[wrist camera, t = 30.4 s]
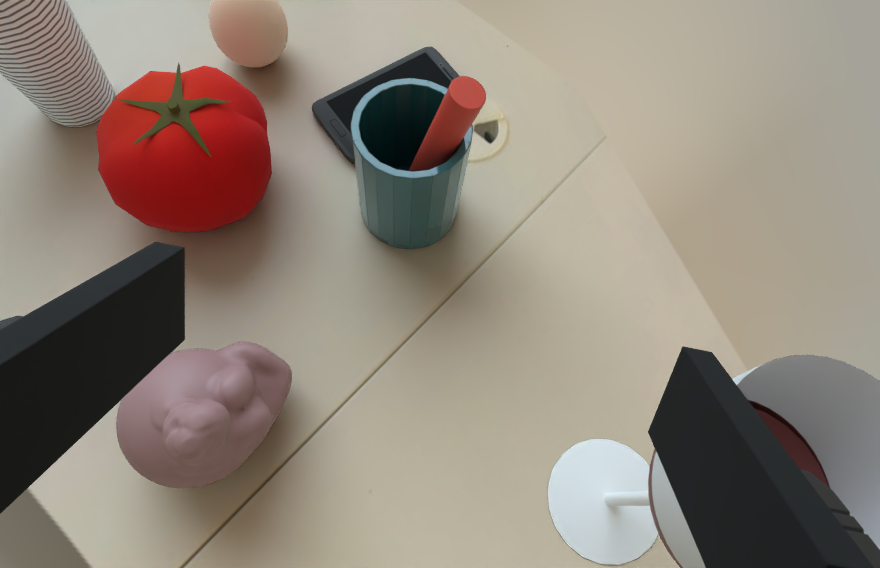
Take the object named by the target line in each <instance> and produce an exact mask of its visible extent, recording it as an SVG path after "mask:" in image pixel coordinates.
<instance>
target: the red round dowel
mask: <svg viewBox="0 0 880 568" xmlns="http://www.w3.org/2000/svg"><path fill="white" fill-rule="evenodd" d="M485 100H486V93H485V90H484V88H483V86H482V85H481V84H480V83H479V82H478V81H476V80H475V79H473V78H471V77H467V76H461V77H457V78H455V79H454V80H453V81H452V82H451V84H450V86H449V88H448V90H447V92H446V94H445V96H444V98H443V100H442V102H441V104H440V107H439V109H438V111H437V113H436V115H435V117H434V119H433V121H432V123H431V125H430V127H429V129H428V131H427V133H426V136H425V138H424V140H423V142H422V144H421V146H420V148H419V150H418V152H417V154H416V156H415V158H414V160H413V163H412V165H411V167H410V169H409V171H412V172H414V171H422V170H430V169H432V168H434V167H437V166H439V165H441V164H444V163H446V162H447V161H448V160H449V159H450V158H451V157H452V156H453V155H454V153H455V151H456V150H457V148H458V146H459V145H460V143H461V141H462V140H463V138H464V136H465V135H466V133H467V131H468V130H469V128H470V126H471V125H472V123H473V121H474V120H475V118H476V116H477V115H478V113H479V111H480V110H481V108H482V106H483V105H484V103H485Z"/></svg>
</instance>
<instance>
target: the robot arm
mask: <svg viewBox="0 0 880 568" xmlns="http://www.w3.org/2000/svg"><path fill="white" fill-rule="evenodd" d="M184 340H185V250H184V247H179V246H174V245H169V244H164V243H159V242H154V243H153V244H151V245H149V246H147V247H146V248H144V249H142V250H140V251H139V252H137V253H135V254H133V255H131V256H130V257H128V258H126V259H124V260H123V261H121V262H119V263H117V264H116V265H114V266H112V267H110V268H108V269H107V270H105V271H103V272H101V273H100V274H98V275H96V276H94V277H93V278H91V279H89V280H87V281H86V282H84V283H82V284H80V285H78V286H77V287H75V288H73V289H71V290H70V291H68V292H66V293H64V294H63V295H61V296H59V297H57V298H55V299H54V300H52V301H50V302H48V303H47V304H45V305H43V306H41V307H40V308H38V309H36V310H34V311H32V312H31V313H29V314H27V315H25V316H24V317H23V316H15V317H12V318H8V319H5V320H2V321H0V513H1V512H3V510H5V509H6V508H7V507H8V506H9V505H10V504H11V503H12V502H13V501H14V500H15V499H16V498H17V497H18V496H20V495H21V494H22V493H23V492H24V491H25V490H26V489H27V488H28V487H29V486H30V485H31V484H32V483H33V482H34V481H35V480H36V479H38V478H39V477H40V476H41V475H42V474H43V473H44V472H45V471H46V470H47V469H48V468H49V467H50V466H51V465H52V464H53V463H55V462H56V461H57V460H58V459H59V458H60V457H61V456H62V455H63V454H64V453H65V452H66V451H67V450H68V449H69V448H70V447H71V446H73V445H74V444H75V443H76V442H77V441H78V440H79V439H80V438H81V437H82V436H83V435H84V434H85V433H86V432H87V431H88V430H89V429H91V428H92V427H93V426H94V425H95V424H96V423H97V422H98V421H99V420H100V419H101V418H102V417H103V416H104V415H105V414H106V413H108V412H109V411H110V410H111V409H112V408H113V407H114V406H115V405H116V404H117V403H118V402H119V401H120V400H121V399H122V398H123V397H124V396H126V395H127V394H128V393H129V392H130V391H131V390H132V389H133V388H134V387H135V386H136V385H137V384H138V383H139V382H140V381H141V380H142V379H144V378H145V377H146V376H147V375H148V374H149V373H150V372H151V371H152V370H153V369H154V368H155V367H156V366H157V365H158V364H159V363H161V362H162V361H163V360H164V359H165V358H166V357H167V356H168V355H169V354H170V353H171V352H172V351H173V350H174V349H175V348H176V347H177V346H179V345H180V344H181V343H182V342H183V341H184ZM648 433H649V435H650V438H651V440H652V442H653V445H654V447H655V449H656V452H657V454H658V456H659V459H660V461H661V464H662V466H663V468H664V471H665V473H666V475H667V478H668V480H669V482H670V485H671V487H672V489H673V492H674V494H675V496H676V499H677V501H678V504H679V506H680V508H681V511H682V513H683V515H684V518H685V520H686V522H687V525H688V527H689V529H690V532H691V534H692V536H693V539H694V541H695V544H696V546H697V548H698V551H699V553H700V555H701V558H702V560H703V562H704V565H705V567H706V568H880V549H879V548H878V547H877V546H876V544H875V543H874V542H873V541H872V539H871V538H870V537H869V535H868V534H864V529H863V528H862V527H861V525H860V524H859V523H858V522H857V520H856V519H855V518H854V517H853V516H850V511H849V510H848V509H847V508H846V506H845V505H844V504H843V503H842V501H841V500H840V499H839V498H838V496H837V495H836V494H835V493H834V491H833V490H831V489H830V488H829V487H828V486H826V485H825V484H824V483H823V482H822V481H820V480H819V479H818V478H817V477H816V476H814V475H813V474H812V473H811V472H810V471H805V470H800V469H799V467H798V466H797V465H796V463H795V462H794V461H793V459H792V458H791V457H790V455H789V454H788V453H787V451H786V450H785V449H784V447H783V446H782V445H781V443H780V442H779V441H778V440H777V438H776V437H775V436H774V434H773V433H772V432H771V430H770V429H769V428H768V426H767V425H766V424H765V422H764V421H763V420H762V418H761V417H760V416H759V414H758V413H757V412H756V410H755V409H754V408H753V406H752V405H751V404H750V402H749V401H748V400H747V398H746V397H745V396H744V394H743V393H742V392H741V390H740V389H739V388H738V386H737V385H736V384H735V382H734V381H733V380H732V378H731V377H730V376H729V374H728V373H727V372H726V370H725V369H724V368H723V366H722V365H721V364H720V362H719V361H718V360H717V358H716V357H715V356H714V354H713V353H712V352H708V351H703V350H698V349H693V348H688V347H682V349H681V352H680V354H679V357H678V359H677V362H676V364H675V367H674V369H673V372H672V374H671V377H670V379H669V382H668V384H667V387H666V389H665V391H664V394H663V396H662V399H661V401H660V404H659V406H658V409H657V411H656V414H655V416H654V419H653V421H652V424H651V426H650V428H649V431H648Z"/></svg>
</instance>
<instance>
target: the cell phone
mask: <svg viewBox="0 0 880 568" xmlns="http://www.w3.org/2000/svg"><path fill="white" fill-rule="evenodd" d="M457 77H460V76H459V75H458V74H457V73H456V71H455V70H454V69H453V68H452V67H451V66H450V65H449V63H448V62H447V61H446V60H445V59H444V58H443V57H442V56H441V54H440V53H439V52H438V51H437V50H436V49H434V48H433V47H425V48H422V49H420V50H418V51H416V52H414V53H412V54H410V55H408V56H406V57H404V58H402V59H400V60H398V61H396V62H394V63H392V64H390V65H388V66H386V67H384V68H382V69H380V70H378V71H376V72H374V73H372V74H370V75H368V76H366V77H364V78H362V79H360V80H358V81H356V82H354V83H352V84H350V85H348V86H346V87H344V88H342V89H340V90H338V91H336V92H334V93H332V94H330V95H328V96H326V97H324V98H322V99H320V100H318V101H316V102H315V103H313V105H312V111H313V113H314V115H315V117H316V119H317V120H318V121H319V122H320V124H321V125H322V126H323V128H324V129H325V130H326V132H327V133H328V134H329V136H330V137H331V138H332V140H333V141H334V142H335V144H336V145H337V146H338V148H339V149H340V150H341V152H342V153H343V154H344V155H345V157H346V158H347V159H348V160H349V161H351V162H353V163H355V160H354V152H353V143H352V135H351V121H352V116H353V112H354V109H355V108H356V106H357V105H358V103H359V102H360V100H361V99H362V97H363V96H364V95H365V94H367V93H368V92H369V91H371V90H372V89H373V88H375V87H377V86H378V85H381V84H383V83H386V82H389V81H391V80H396V79H406V78H415V79H422V80H429V81H432V82H434V83H436V84H439V85H441V86H443V87H446V88H447V89H448V88H449V86H450V84H451V82H452V81H453V80H454V79H455V78H457Z"/></svg>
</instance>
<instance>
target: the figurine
mask: <svg viewBox="0 0 880 568" xmlns="http://www.w3.org/2000/svg"><path fill="white" fill-rule="evenodd" d="M291 380H292V372H291V369H290V367H289V365H288V364H287V363H286V362H285V361H284V360H282V359H281V358H280V357H278V356H277V355H275V354H274V353H272V352H271V351H269V350H267V349H266V348H264V347H262V346H260V345H257V344H255V343H250V342H237V343H234V344H231V345H229V346H227V347H225V348H223V349H220V350H218V351H214V350H207V349H188V350H182V351H177V352H174V353H171V354H169V355H168V356H167V357H166V358H165V359H164V360H163V361H162V362H161V363H159V364H158V365H157V366H156V367H155V368H154V369H153V370H152V371H151V372H150V373H149V374H148V375H147V376H146V377H145V378H144V379H142V380H141V381H140V382H139V383H138V384H137V385H136V386H135V387H134V388H133V389H132V390H131V391H130V392H129V393H128V394H127V395H126V396H124V397H123V398H122V400H121V402H120V405H119V409H118V414H117V422H116V429H117V437H118V442H119V445H120V448H121V450H122V452H123V454H124V456H125V458H126V459H127V461H128V462H129V463H130V465H131V466H132V467H133V468H134V469H135V470H136V471H137V472H138V473H140V474H141V475H142V476H144V477H145V478H147V479H149V480H151V481H153V482H155V483H157V484H160V485H164V486H167V487H173V488H195V487H200V486H205V485H208V484H211V483H213V482H216V481H218V480H220V479H222V478H224V477H226V476H228V475H229V474H231V473H232V472H234V471H235V470H236V469H237V468H238V467H240V466H241V465H242V464H243V463H244V462H245V461H246V459H247V458H248V457H249V456H250V455H251V453H252V452H253V451H254V450H255V449H256V448H257V447H258V446H259V445H260V444H261V443H262V441H263V440H264V438H265V437H266V435H267V433H268V431H269V429H270V428H271V426H272V424H273V423H274V421H275V420H276V418H277V417H278V415H279V413H280V411H281V410H282V407H283V405H284V402H285V400H286V397H287V395H288V393H289V390H290V386H291Z"/></svg>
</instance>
